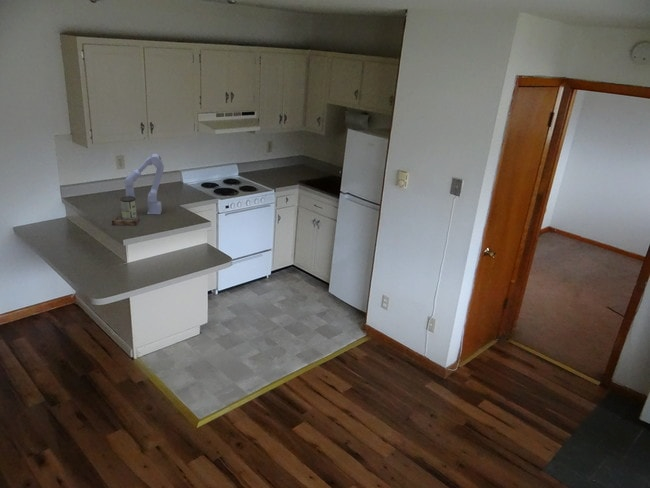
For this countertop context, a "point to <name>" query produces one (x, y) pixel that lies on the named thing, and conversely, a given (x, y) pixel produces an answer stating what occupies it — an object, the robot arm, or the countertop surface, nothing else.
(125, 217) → the coffee can
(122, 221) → the can dock
